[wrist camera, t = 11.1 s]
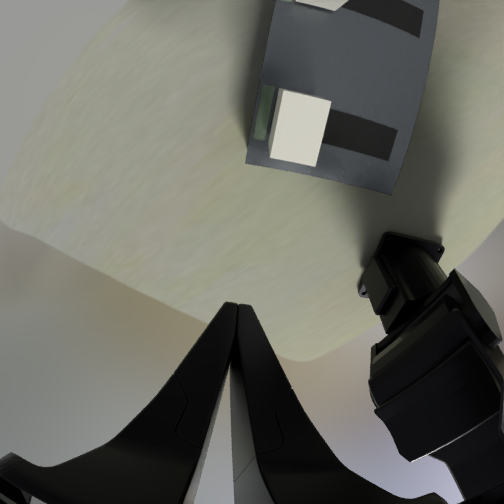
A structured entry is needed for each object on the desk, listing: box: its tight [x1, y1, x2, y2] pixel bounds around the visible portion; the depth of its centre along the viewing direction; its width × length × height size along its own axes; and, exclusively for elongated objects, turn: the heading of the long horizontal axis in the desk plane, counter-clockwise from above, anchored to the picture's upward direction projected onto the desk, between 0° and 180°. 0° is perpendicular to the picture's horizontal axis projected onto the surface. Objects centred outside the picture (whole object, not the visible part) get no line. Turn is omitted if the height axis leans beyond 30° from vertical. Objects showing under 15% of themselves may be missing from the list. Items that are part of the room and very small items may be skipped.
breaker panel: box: [245, 0, 439, 195], centre depth 13 cm, size 9×14×3 cm, turn 171°
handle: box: [268, 88, 331, 167], centre depth 12 cm, size 2×3×3 cm, turn 170°
